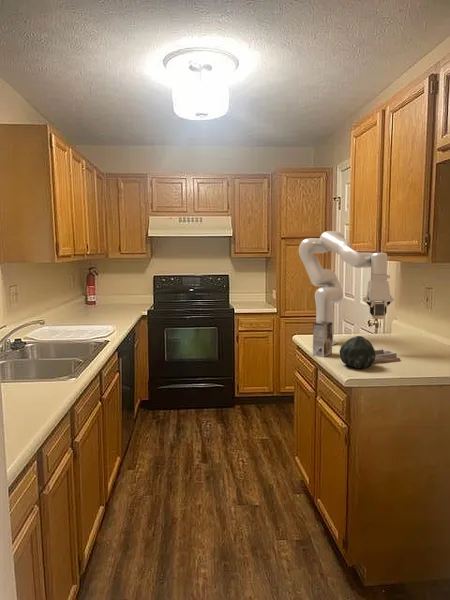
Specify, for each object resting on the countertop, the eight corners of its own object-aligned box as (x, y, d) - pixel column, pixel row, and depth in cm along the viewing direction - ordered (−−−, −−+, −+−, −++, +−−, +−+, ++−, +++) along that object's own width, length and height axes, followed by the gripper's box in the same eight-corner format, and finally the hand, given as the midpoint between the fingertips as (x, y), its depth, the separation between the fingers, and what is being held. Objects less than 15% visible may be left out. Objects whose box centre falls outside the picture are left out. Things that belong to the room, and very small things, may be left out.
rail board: (353, 357, 204) (354, 345, 204) (380, 354, 210) (381, 342, 209) (372, 364, 192) (372, 350, 191) (400, 360, 198) (400, 347, 197)
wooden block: (371, 318, 212) (371, 302, 211) (381, 317, 212) (382, 301, 211) (374, 319, 208) (374, 302, 207) (384, 319, 208) (385, 302, 207)
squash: (350, 348, 200) (343, 327, 191) (382, 354, 191) (376, 332, 182) (339, 372, 193) (331, 352, 184) (372, 379, 184) (365, 359, 175)
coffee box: (320, 352, 217) (321, 320, 215) (332, 353, 213) (333, 321, 211) (312, 355, 210) (312, 323, 208) (324, 357, 206) (324, 324, 204)
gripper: (393, 277, 212) (392, 313, 213) (359, 277, 212) (358, 314, 214) (399, 278, 204) (398, 315, 206) (363, 278, 205) (362, 316, 207)
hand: (378, 314), depth 210 cm, fingers closed on wooden block, 4 cm apart
